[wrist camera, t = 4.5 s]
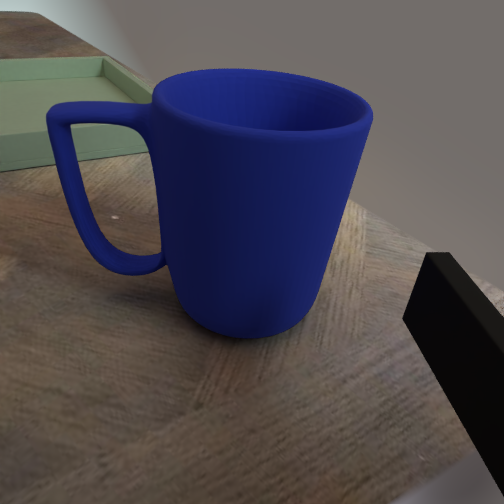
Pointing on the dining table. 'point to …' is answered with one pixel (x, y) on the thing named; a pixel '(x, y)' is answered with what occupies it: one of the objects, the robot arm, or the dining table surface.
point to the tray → (58, 91)
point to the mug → (232, 189)
